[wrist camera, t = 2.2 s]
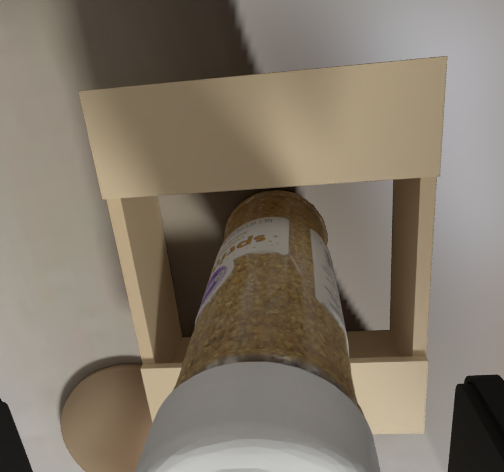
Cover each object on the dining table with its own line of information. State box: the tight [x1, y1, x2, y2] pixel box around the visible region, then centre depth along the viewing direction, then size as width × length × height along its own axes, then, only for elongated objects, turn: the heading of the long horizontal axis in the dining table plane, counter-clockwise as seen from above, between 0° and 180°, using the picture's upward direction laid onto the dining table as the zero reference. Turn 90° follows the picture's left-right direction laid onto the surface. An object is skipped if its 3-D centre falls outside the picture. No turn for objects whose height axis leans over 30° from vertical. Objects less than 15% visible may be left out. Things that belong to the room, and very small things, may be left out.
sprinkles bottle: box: [135, 190, 380, 472], centre depth 14 cm, size 5×5×14 cm
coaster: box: [61, 364, 153, 472], centre depth 25 cm, size 9×9×1 cm
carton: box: [78, 56, 447, 434], centre depth 18 cm, size 11×14×4 cm
